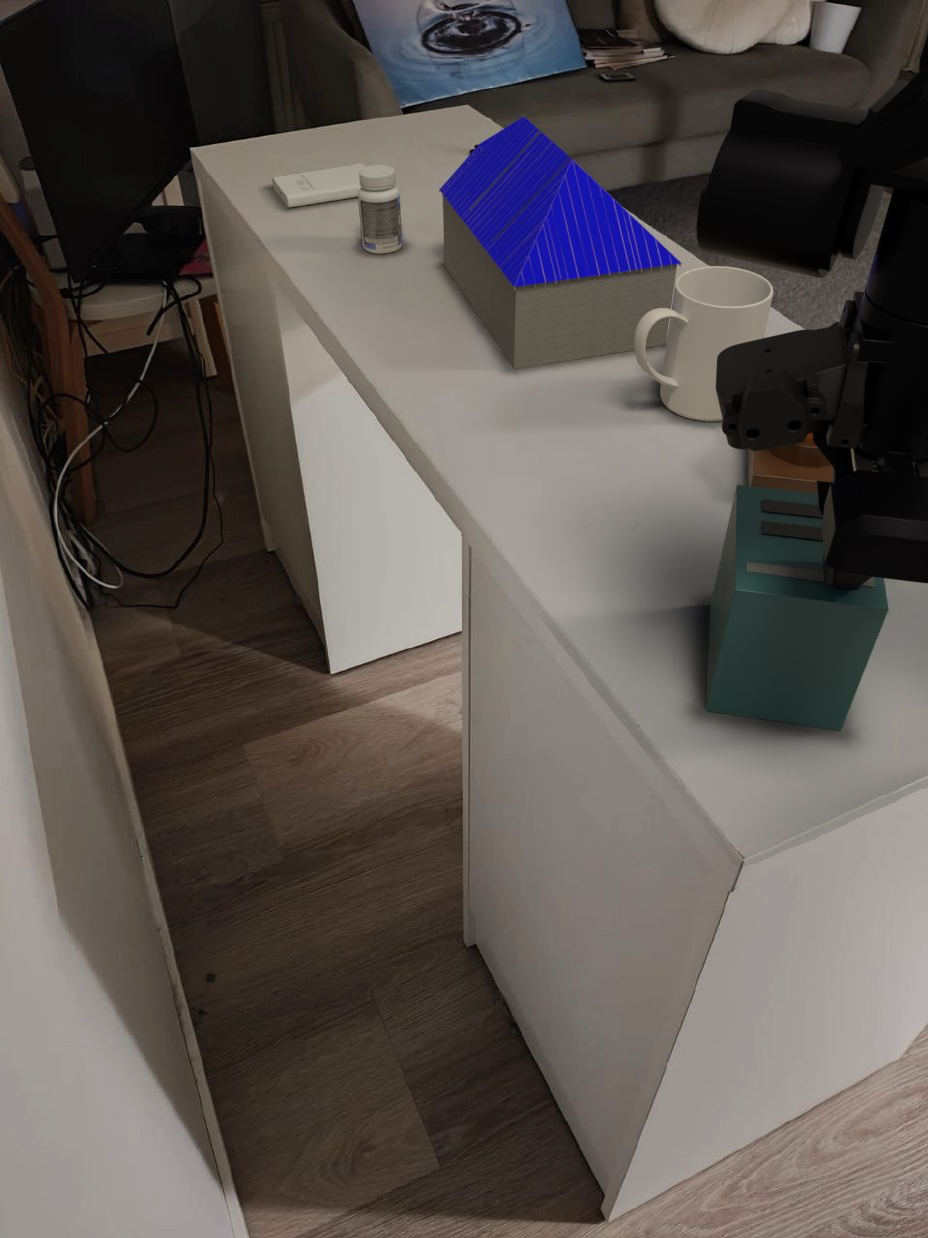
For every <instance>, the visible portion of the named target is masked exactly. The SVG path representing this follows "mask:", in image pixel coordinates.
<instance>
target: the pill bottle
mask: <svg viewBox="0 0 928 1238" xmlns="http://www.w3.org/2000/svg"><path fill="white" fill-rule="evenodd" d="M359 180H360V186H361V188H360V189H359V191H358V197H357V204H358V212H359V213H358V214H359V223H360V224H359V225H360V237H361V238H360V239H361V245H362V248H363V249H364V251H366V252H368V253H371V254H376V255H377V254H378V255H379V254H381V255H382V254H389V253H394V252H397V251H398V250H400V249H401V248H402V246H403V228H402V225H403V224H402V213H401V212H402V211H401V209H402V208H401V194H400V189H399V188H398V187H397V186H396V183H397V179H396V170H395V168H394V167H392V166H389V165H383V164H377V165H376V164H375V165H369V166H366V167H365V168H363V169H361V170H360V171H359Z"/></svg>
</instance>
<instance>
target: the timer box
mask: <svg viewBox="0 0 928 1238" xmlns="http://www.w3.org/2000/svg"><path fill="white" fill-rule="evenodd" d="M747 452H748V453H747V454H748V455H747V486H754V487H763V488H772V489H781V490H790V491H799V492H808V493H817V494H818V492H817V481H824V482H832V481H833V466H832V465H831V464H830V462H829V461H828V460H827V459H826V457H825V456H824V455H823V453H822V452H821V451H820V450H819V448H818V447H817V446H816V444H815V443H814V441H813V439H808V438H805V439H804V440H803V441H802V442H800V443H798V444H793V445H788V446H782V447H777V448H771V449H766V450H760V451H752V450H750V449H747Z"/></svg>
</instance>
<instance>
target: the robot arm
mask: <svg viewBox="0 0 928 1238" xmlns="http://www.w3.org/2000/svg"><path fill="white" fill-rule="evenodd" d="M732 109H733V110H732V115H731V121H730V127H729V129H728V131H727V132H726V135H725V137H724V138H723V141H722V143H721V146H720V147H719V150H718V152H717V154H716V156H715V159H714V163H713V165H712V168H711V172H710V175H709V178H708V181H707V185H706V186H705V187H703V189H702V191H701V193H700V196H699V203H698V208H697V215H696V216H697V217H696V241H697V245H698V248H699V250H700V252H702V253H705V254H709V255H713V256H718V257H722V258H728V259H733V260H736V261H741V262H745V263H750V264H754V265H755V264H756V265H759V266H764V267H769V268H773V269H777V270H782V271H787V272H790V273H791V272H792V273H795V274H800V275H805V276H809V277H814V278H818V279H824V278H825V277H827V275H829V273H830V272H831V271H832V270H833V267H834V265H835V263H836V261H837V259H838V257H839V256H840V257H841V258H844V259H848V260H854V261H856V260H857V259H858V258H859V256H860V255H861V253H862V251H863V250H864V248H865V246H866V244H867V242H868V239H869V237H870V234H871V232H872V229H873V227H874V224H875V221H876V220H877V219H876V218H877V216H878V213H879V209H880V206H881V202H882V200H883V195H884V192H885V188H890V189H892V191H891V195H890V200H889V204H888V207H887V210H886V214H885V218H884V221H883V224H882V228H881V231H880V235H879V237H878V241H877V245H876V248H875V253H874V256H873V259H872V263H871V267H870V270H869V273H868V276H867V280H866V283H865V288H864V291H856V290H854V293H853V296H852V299H846V300H845V301H844V304H843V308H842V311H841V316H840V319H839V321H835V322H834V323H832V324H831V325H829V326H828V327H822V328H816V329H811V328H809V329H807V328H805V329H798V330H793V331H789V332H785V333H784V332H783V333H779V334H775V335H772V336H767V337H764V338H762V339H758V340H753V341H749V342H744V343H740V344H736V345H733V346H730V347H728V348H726V349H724V350H723V351H722V352H720V354H719V355H718V357H717V369H716V392H717V397H718V401H719V406H720V410H721V415H722V421H721V430H722V433H723V434H724V435H725V437H726V443H727V445H728V446H729V447H731V448H733V449H737V450H748V449H750V450H752V451H760V450H766V449H771V448H777V447H782V446H788V445H793V444H798V443H800V442H802V441H803V440H804V439H805V437H806V436H807V435H808V434H810V433H812V435H813V441H814V443H815V444H816V446H817V447H818V448H819V450H820V451H821V452H822V453H823V455H824V456H825V457H826V459H827V460H828V461H829V462H830V464H831V465H832V466H833V481H832V482H824V481H817V492H818V503H819V511H820V514H821V515H822V517H823V521H822V537H823V548H824V560H825V563H826V564H827V565H829V566H830V567H831V568H833V569H834V575H833V587H834V588H835V589H839V590H847V591H853V590H856V589H857V588H858V587H860V586H861V585H862V584H863V583H865V582H866V581H867V580H869V579H870V578H871V577H878V578H884V579H887V580H895V581H902V582H912V583H919V584H927V585H928V34H927V36H926V38H925V42H924V45H923V48H922V51H921V53H920V57H919V61H918V72H917V73H916V74H914V76H913V77H912V78H910V80H905V79H898V80H897V81H896V82H895V83H894V84H893V85H892V86H891V87H889V89H888V90H886V91H885V92H884V93H883V94H882V95H881V96H880V97H879V98H878V99H877V100H875V102H873V103H872V105H871V106H869V107H868V108H867V109H868V110H866V109H857V108H852V107H847V106H839V105H831V104H825V103H820V102H819V103H818V102H811V101H805V100H799V99H796V98H793V97H791V96H789V95H786V94H785V93H782V92H777V91H772V90H767V89H766V90H765V89H759V88H754V89H752V90H751V91H749V92H748V93H747V94H745V95H744V96H742V97H740V98H739V99H738V100H737V101H736V102H735V103H734V104H733V108H732Z"/></svg>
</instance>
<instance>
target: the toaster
mask: <svg viewBox="0 0 928 1238" xmlns="http://www.w3.org/2000/svg"><path fill="white" fill-rule="evenodd" d="M822 521H823V517H822V515H821V514H820V511H819V503H818V494H817V493H808V492H799V491H790V490H781V489H772V488H763V487H754V486H748V485H745V484H736V487H735V490H734V495H733V500H732V504H731V509H730V512H729V518H728V523H727V528H726V532H725V536H724V541H723V545H722V550H721V554H720V558H719V562H718V563H719V564H718V568H717V573H716V576H715V582H714V586H713V590H712V595H711V599H710V600H711V601H710V607H709V626H708V627H709V630H708V631H709V632H708V654H707V673H706V675H707V676H706V697H705V711H706V712H712V713H718V714H724V715H725V714H726V715H732V716H740V717H745V718H752V719H760V720H765V721H766V720H767V721H771V722H772V721H773V722H780V723H786V724H793V725H798V726H806V727H812V728H813V727H814V728H819V729H825V730H833V731H842V729H843V726H844V724H845V721H846V719H847V716H848V714H849V711H850V708H851V706H852V704H853V702H854V698H855V696H856V693H857V691H858V689H859V685H860V683H861V681H862V679H863V676H864V673H865V671H866V668H867V666H868V663H869V660H870V658H871V655H872V654H873V653H872V652H873V651H874V648H875V645H876V642H877V640H878V637H879V636H880V632H881V630H882V628H883V625H884V622H885V620H886V618H887V615H888V613H889V610H890V608H889V602H888V601H889V600H888V596H887V595H888V594H887V589H886V582H885V578H878V577H871V578H870V579H869V580H867V581H866V582H865V583H863V584H862V585H861V586H860V589H859V590H853V591H847V590H839V589H835V588H834V587H831V586H825V583H824V571H823V559H822V558H823V555H824V548H823V537H822Z"/></svg>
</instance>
